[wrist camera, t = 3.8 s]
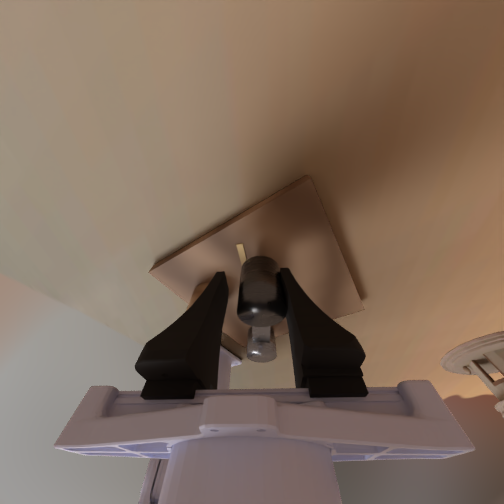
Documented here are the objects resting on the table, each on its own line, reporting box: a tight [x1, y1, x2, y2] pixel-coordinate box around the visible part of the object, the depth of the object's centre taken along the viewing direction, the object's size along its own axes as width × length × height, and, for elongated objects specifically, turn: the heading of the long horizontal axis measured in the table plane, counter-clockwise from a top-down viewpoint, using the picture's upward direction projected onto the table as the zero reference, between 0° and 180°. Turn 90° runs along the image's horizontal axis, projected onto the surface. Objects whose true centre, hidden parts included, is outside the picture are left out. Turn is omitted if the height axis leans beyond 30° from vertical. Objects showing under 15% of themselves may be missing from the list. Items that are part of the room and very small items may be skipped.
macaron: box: [186, 283, 225, 320], centre depth 20 cm, size 4×4×3 cm
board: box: [149, 175, 365, 347], centre depth 21 cm, size 18×18×1 cm
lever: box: [237, 256, 287, 362], centre depth 18 cm, size 16×4×6 cm, turn 2°
